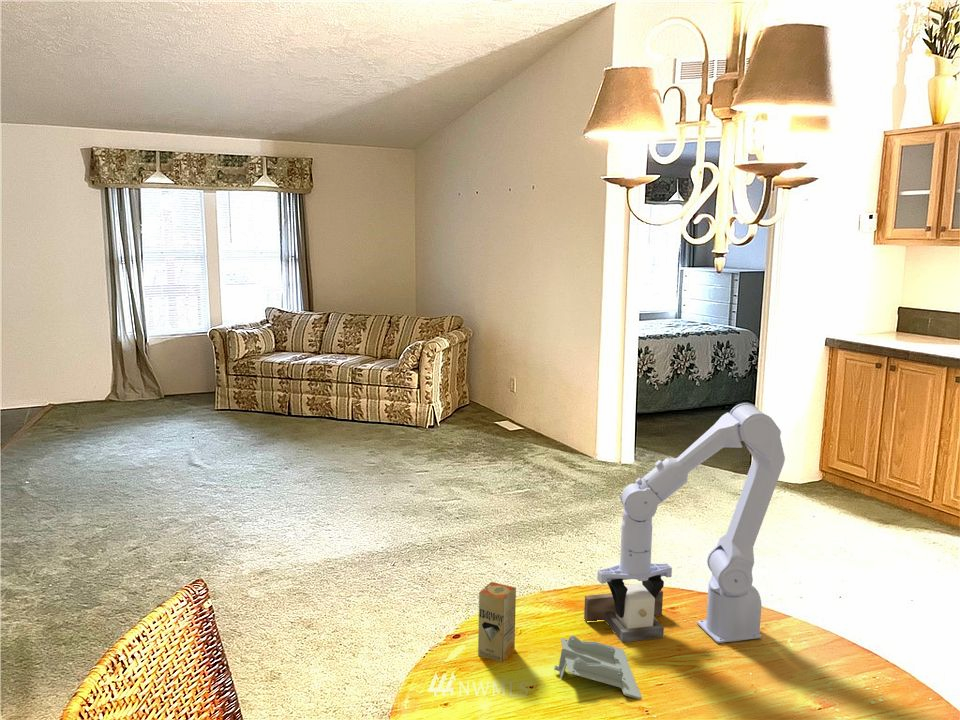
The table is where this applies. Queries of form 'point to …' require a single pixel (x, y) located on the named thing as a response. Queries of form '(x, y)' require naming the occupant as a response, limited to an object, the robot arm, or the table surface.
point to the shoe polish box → (496, 621)
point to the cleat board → (605, 610)
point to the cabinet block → (637, 607)
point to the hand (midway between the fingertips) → (632, 613)
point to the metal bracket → (598, 664)
